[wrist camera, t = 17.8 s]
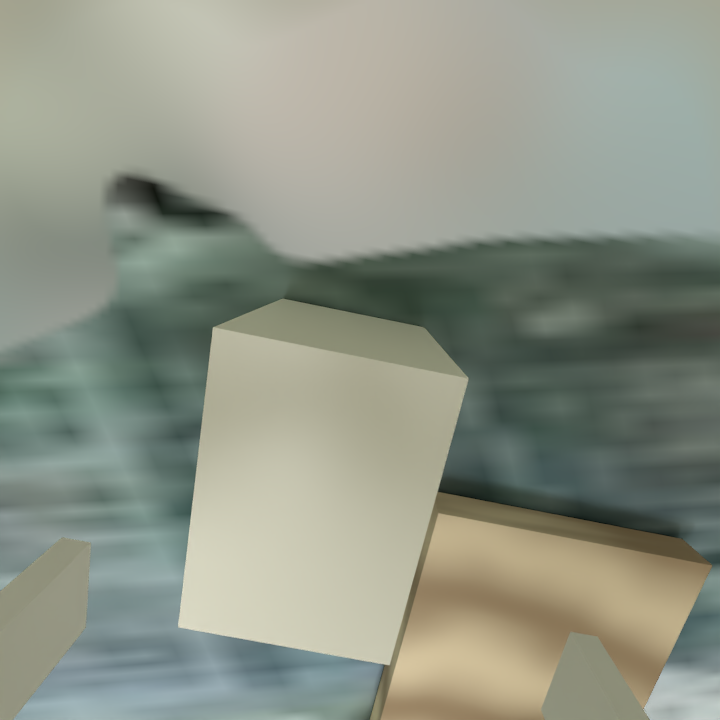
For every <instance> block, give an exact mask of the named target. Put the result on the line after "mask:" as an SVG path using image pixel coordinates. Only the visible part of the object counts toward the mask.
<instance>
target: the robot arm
mask: <svg viewBox="0 0 720 720" xmlns="http://www.w3.org/2000/svg"><path fill="white" fill-rule="evenodd" d="M90 550H91V543H89V542H84V541H78V540H73V539H68V538H61V539H60V540H59V541H57V542H56V543H55V544H54V545H53V546H52V547H51V548H49V549H48V550H47V551H46V552H45V553H44V554H43V555H41V556H40V557H39V558H38V559H37V560H36V561H35V562H33V563H32V564H31V565H30V566H29V567H28V568H27V569H25V570H24V571H23V572H22V573H21V574H20V575H18V576H17V577H16V578H15V579H14V580H13V581H12V582H10V583H9V584H8V585H7V586H6V587H5V588H4V589H2V590H1V591H0V720H13V719H14V718H15V716H16V715H17V714H18V712H19V711H20V710H21V709H22V707H23V706H24V705H25V704H26V702H27V701H28V700H29V699H30V697H31V696H32V695H33V694H34V692H35V691H36V690H37V688H38V687H39V686H40V685H41V683H42V682H43V681H44V680H45V678H46V677H47V676H48V675H49V673H50V672H51V671H52V670H53V668H54V667H55V666H56V664H57V663H58V662H59V661H60V659H61V658H62V657H63V656H64V654H65V653H66V652H67V651H68V649H69V648H70V647H71V646H72V644H73V643H74V642H75V641H76V639H77V638H78V637H79V635H80V634H81V633H82V632H83V630H84V629H85V628H86V615H87V599H88V582H89V566H90ZM541 711H542V714H543V716H544V719H545V720H649V718H648V716H647V715H646V713H645V712H644V710H643V708H642V707H641V705H640V704H639V702H638V700H637V699H636V697H635V696H634V694H633V692H632V691H631V689H630V688H629V686H628V684H627V683H626V681H625V680H624V678H623V677H622V675H621V673H620V672H619V670H618V669H617V667H616V665H615V664H614V662H613V661H612V659H611V657H610V656H609V654H608V653H607V651H606V649H605V648H604V646H603V645H602V643H601V641H600V640H599V638H598V637H597V636H591V635H586V634H580V633H575V632H570V634H569V636H568V639H567V642H566V644H565V647H564V650H563V652H562V655H561V658H560V660H559V663H558V666H557V668H556V671H555V674H554V676H553V679H552V682H551V684H550V687H549V689H548V692H547V695H546V697H545V700H544V703H543V705H542V708H541Z"/></svg>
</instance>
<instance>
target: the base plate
mask: <svg viewBox="0 0 720 720" xmlns="http://www.w3.org/2000/svg"><path fill="white" fill-rule="evenodd" d="M711 568H712V565H711V564H710V563H709V562H708V561H707V560H706V559H704V558H703V557H702V556H701V555H700V554H699V553H698V552H697V551H695V550H694V549H693V548H692V547H691V546H690V545H689V544H687V543H686V542H685V541H684V540H683V539H680V538H675V537H670V536H665V535H659V534H654V533H649V532H644V531H639V530H633V529H628V528H623V527H618V526H613V525H607V524H602V523H597V522H592V521H587V520H581V519H576V518H571V517H566V516H561V515H555V514H550V513H545V512H540V511H535V510H530V509H524V508H519V507H514V506H509V505H504V504H498V503H493V502H488V501H483V500H478V499H472V498H467V497H462V496H457V495H452V494H446V493H441V492H437V495H436V499H435V503H434V506H433V510H432V514H431V517H430V521H429V524H428V528H427V532H426V535H425V539H424V543H423V546H422V550H421V553H420V557H419V561H418V564H417V568H416V572H415V575H414V579H413V582H412V586H411V590H410V593H409V597H408V601H407V604H406V608H405V611H404V615H403V619H402V622H401V626H400V630H399V633H398V637H397V640H396V644H395V648H394V651H393V655H392V659H391V662H390V665H385V666H384V670H383V673H382V677H381V681H380V684H379V688H378V692H377V695H376V699H375V703H374V706H373V710H372V714H371V717H370V720H545V719H544V716H543V714H542V711H541V708H542V705H543V703H544V700H545V697H546V695H547V692H548V689H549V687H550V684H551V682H552V679H553V676H554V674H555V671H556V668H557V666H558V663H559V660H560V658H561V655H562V652H563V650H564V647H565V644H566V642H567V639H568V636H569V634H570V632H575V633H580V634H586V635H591V636H597V637H598V638H599V640H600V641H601V643H602V645H603V646H604V648H605V649H606V651H607V653H608V654H609V656H610V657H611V659H612V661H613V662H614V664H615V665H616V667H617V669H618V670H619V672H620V673H621V675H622V677H623V678H624V680H625V681H626V683H627V684H628V686H629V688H630V689H631V691H632V692H633V694H634V696H635V697H636V699H637V700H638V702H639V704H640V705H641V707H642V708H643V709H644V707H645V705H646V703H647V701H648V699H649V697H650V694H651V692H652V690H653V688H654V686H655V684H656V682H657V680H658V678H659V676H660V674H661V672H662V670H663V667H664V665H665V663H666V661H667V659H668V657H669V655H670V653H671V651H672V649H673V647H674V645H675V642H676V640H677V638H678V636H679V634H680V632H681V630H682V628H683V626H684V624H685V622H686V620H687V617H688V615H689V613H690V611H691V609H692V607H693V605H694V603H695V601H696V599H697V597H698V595H699V592H700V590H701V588H702V586H703V584H704V582H705V580H706V578H707V576H708V574H709V572H710V570H711Z"/></svg>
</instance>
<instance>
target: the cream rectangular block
mask: <svg viewBox="0 0 720 720" xmlns="http://www.w3.org/2000/svg"><path fill="white" fill-rule="evenodd" d="M468 379H469V378H468V377H467V376H466V375H465V374H464V373H463V372H462V370H461V369H460V368H459V367H458V366H457V365H456V363H455V362H454V361H453V360H452V359H451V358H450V357H449V355H448V354H447V353H446V352H445V351H444V350H443V348H442V347H441V346H440V345H439V344H438V343H437V342H436V340H435V339H434V338H433V337H432V336H431V335H430V334H429V332H428V331H427V330H426V329H425V328H424V327H420V326H415V325H410V324H405V323H400V322H395V321H391V320H386V319H381V318H376V317H371V316H366V315H361V314H356V313H351V312H346V311H341V310H337V309H332V308H327V307H322V306H317V305H312V304H307V303H302V302H297V301H292V300H287V299H280V300H278V301H275V302H273V303H271V304H268V305H266V306H263V307H261V308H259V309H256V310H254V311H251V312H249V313H247V314H244V315H242V316H239V317H237V318H234V319H232V320H230V321H227V322H225V323H222V324H220V325H218V326H215V327H213V332H212V341H211V349H210V358H209V367H208V375H207V384H206V392H205V401H204V410H203V418H202V427H201V435H200V444H199V453H198V461H197V470H196V478H195V487H194V496H193V504H192V513H191V521H190V530H189V538H188V547H187V556H186V564H185V573H184V581H183V590H182V599H181V607H180V616H179V624H178V627H179V628H185V629H191V630H196V631H202V632H207V633H213V634H218V635H224V636H229V637H235V638H241V639H246V640H252V641H257V642H263V643H268V644H274V645H279V646H285V647H290V648H296V649H302V650H307V651H313V652H318V653H324V654H329V655H335V656H340V657H346V658H352V659H357V660H363V661H368V662H374V663H379V664H385V665H390V662H391V659H392V655H393V651H394V648H395V644H396V640H397V637H398V633H399V630H400V626H401V622H402V619H403V615H404V611H405V608H406V604H407V601H408V597H409V593H410V590H411V586H412V582H413V579H414V575H415V572H416V568H417V564H418V561H419V557H420V553H421V550H422V546H423V543H424V539H425V535H426V532H427V528H428V524H429V521H430V517H431V514H432V510H433V506H434V503H435V499H436V495H437V492H438V488H439V485H440V481H441V477H442V474H443V470H444V466H445V463H446V459H447V456H448V452H449V448H450V445H451V441H452V437H453V434H454V430H455V427H456V423H457V419H458V416H459V412H460V408H461V405H462V401H463V398H464V394H465V390H466V387H467V383H468Z"/></svg>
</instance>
